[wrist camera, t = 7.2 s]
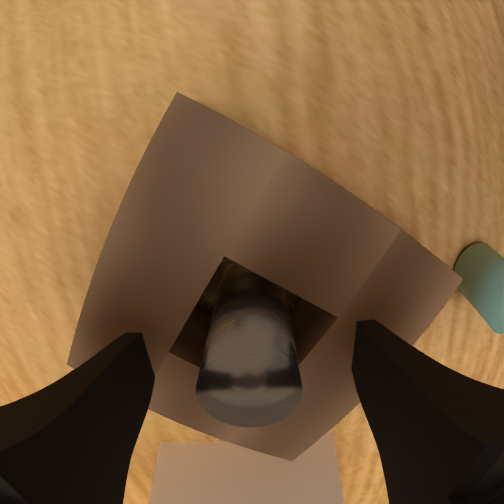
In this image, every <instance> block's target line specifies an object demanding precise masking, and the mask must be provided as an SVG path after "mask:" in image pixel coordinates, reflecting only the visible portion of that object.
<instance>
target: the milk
mask: <svg viewBox="0 0 504 504" xmlns="http://www.w3.org/2000/svg"><path fill="white" fill-rule="evenodd" d="M149 504H344V499H343V491H342V484H341V478H340V471H339V464H338V458H337V451H336V445H335V439H334V433H333V428H332V429H331V430H329V431H328V432H327V433H326V434H325V435H324V436H322V437H321V438H320V439H319V440H318V441H317V442H315V443H314V444H313V445H312V446H311V447H309V448H308V449H307V450H306V451H304V452H303V453H302V454H301V455H299V456H298V457H297V458H296V459H294V460H293V461H289V460H286V459H282V458H278V457H275V456H271V455H268V454H264V453H261V452H258V451H254V450H251V449H248V448H245V447H242V446H239V445H236V444H233V443H230V442H227V441H212V442H160V446H159V451H158V456H157V462H156V467H155V473H154V478H153V484H152V490H151V496H150V502H149Z"/></svg>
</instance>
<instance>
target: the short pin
mask: <svg viewBox="0 0 504 504" xmlns="http://www.w3.org/2000/svg"><path fill="white" fill-rule="evenodd" d="M454 272H455V273H457V274H458V275H459V276H460V277H461V278H462V279H463V280H462V282H461V283H460V285H459V286H458V289H459V291H460V292H461V293H462V294H463V295H464V296H465V297H466V298H467V300H468V301H469V302H470V303H471V304H472V305H473V307H474V308H475V309H476V310H477V311H478V312H479V314H480V315H481V316H482V317H483V318H484V320H485V321H486V322H487V323H488V324H489V326H490V327H491V328H492V329H493V331H494V332H496V333H498V334H503V333H504V257H502V256H501V255H500V254H499V253H497V252H496V251H495V250H494V249H492V248H491V247H490V246H488V245H487V244H485V243H476V244H473V245H471V246H470V247H468V248H467V249H466V250H465V251H464V252H463V253H462V254H461V256H460V257H459V259H458V260H457V263H456V265H455V268H454Z"/></svg>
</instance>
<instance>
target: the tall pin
mask: <svg viewBox="0 0 504 504" xmlns="http://www.w3.org/2000/svg"><path fill="white" fill-rule="evenodd" d="M302 394H303V388H302V381H301V376H300V370H299V364H298V358H297V352H296V347H295V341H294V335H293V330H292V324H291V319H290V313H289V308H288V302H287V297H286V292H285V289H284V288H282V287H280V286H278V285H277V284H275V283H273V282H271V281H269V280H267V279H265V278H264V277H262V276H260V275H258V274H256V273H254V272H253V271H251V270H249V269H247V268H245V267H243V266H242V265H240V264H238V263H236V262H234V263H232V264H231V265H230V266H228V267H227V269H226V270H225V271H224V273H223V274H222V277H221V280H220V284H219V288H218V292H217V296H216V301H215V305H214V309H213V313H212V318H211V322H210V326H209V331H208V335H207V339H206V344H205V348H204V352H203V357H202V361H201V366H200V370H199V375H198V379H197V384H196V396H197V399H198V401H199V403H200V405H201V406H202V408H203V409H204V410H205V411H206V412H207V413H208V414H210V415H211V416H212V417H214V418H215V419H217V420H219V421H221V422H224V423H226V424H229V425H233V426H238V427H262V426H267V425H271V424H274V423H277V422H279V421H281V420H283V419H285V418H286V417H288V416H289V415H290V414H292V413H293V412H294V410H295V409H296V408H297V407H298V405H299V403H300V401H301V399H302Z"/></svg>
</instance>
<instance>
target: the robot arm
mask: <svg viewBox="0 0 504 504" xmlns="http://www.w3.org/2000/svg"><path fill="white" fill-rule="evenodd" d="M351 370H352V374H353V378H354V383H355V387H356V391H357V394H358V397H359V399H360V402H361V404H362V407H363V410H364V412H365V415H366V417H367V420H368V423H369V425H370V428H371V430H372V433H373V436H374V438H375V441H376V444H377V447H378V450H379V454H380V458H381V462H382V467H383V471H384V476H385V481H386V487H387V492H388V498H389V504H504V389H500V388H497V387H494V386H490V385H488V384H485V383H482V382H479V381H477V380H474V379H471V378H469V377H467V376H464V375H462V374H460V373H458V372H456V371H454V370H452V369H450V368H448V367H446V366H444V365H442V364H440V363H439V362H437V361H435V360H434V359H432V358H430V357H428V356H427V355H425V354H424V353H422V352H421V351H419V350H417V349H416V348H414V347H413V346H411V345H410V344H409V343H407V342H406V341H404V340H403V339H401V338H400V337H399V336H397V335H396V334H394V333H393V332H392V331H390V330H389V329H388V328H386V327H385V326H383V325H382V324H380V323H379V322H377V321H376V320H374V319H371V320H363V321H357V323H356V333H355V342H354V350H353V358H352V366H351ZM154 382H155V375H154V371H153V368H152V365H151V362H150V358H149V355H148V352H147V348H146V345H145V341H144V338H143V334H142V332H126V333H124V334H123V335H121V336H120V337H118V338H117V339H115V340H114V341H113V342H111V343H110V344H109V345H107V346H106V347H105V348H103V349H102V350H101V351H99V352H98V353H97V354H95V355H94V356H93V357H91V358H90V359H88V360H87V361H86V362H84V363H83V364H81V365H80V366H79V367H77V368H76V369H74V370H73V371H71V372H70V373H68V374H67V375H65V376H64V377H62V378H61V379H59V380H57V381H56V382H54V383H52V384H51V385H49V386H47V387H45V388H43V389H41V390H39V391H37V392H35V393H33V394H31V395H29V396H26V397H24V398H22V399H19V400H17V401H15V402H12V403H9V404H6V405H4V406H0V504H123V499H124V492H125V486H126V480H127V474H128V469H129V464H130V460H131V456H132V453H133V449H134V447H135V444H136V441H137V438H138V435H139V433H140V430H141V427H142V424H143V421H144V419H145V416H146V413H147V410H148V407H149V404H150V402H151V397H152V393H153V388H154Z"/></svg>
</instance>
